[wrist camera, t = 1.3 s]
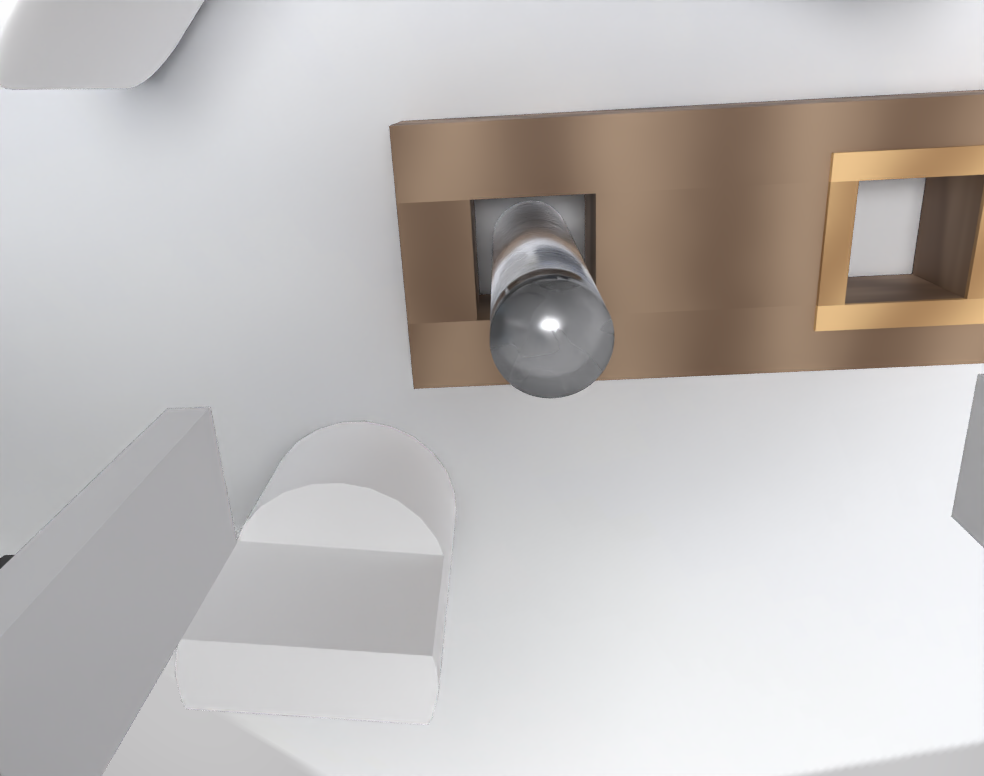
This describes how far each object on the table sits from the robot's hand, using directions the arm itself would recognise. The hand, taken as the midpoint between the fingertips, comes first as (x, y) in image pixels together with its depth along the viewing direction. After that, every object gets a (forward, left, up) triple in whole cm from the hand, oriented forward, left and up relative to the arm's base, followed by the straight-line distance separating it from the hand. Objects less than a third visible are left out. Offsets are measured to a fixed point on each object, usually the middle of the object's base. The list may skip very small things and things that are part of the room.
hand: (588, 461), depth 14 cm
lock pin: (0, 0, -21) cm, 21 cm away
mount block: (+7, 0, -21) cm, 22 cm away
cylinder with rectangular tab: (-9, -12, -21) cm, 26 cm away
